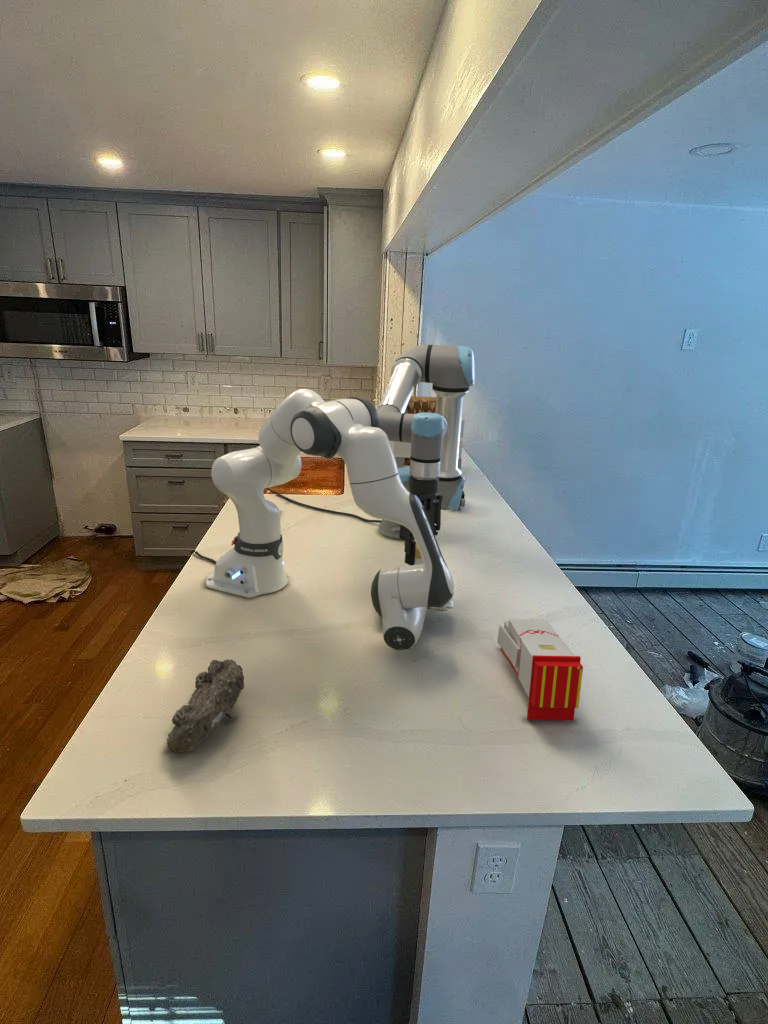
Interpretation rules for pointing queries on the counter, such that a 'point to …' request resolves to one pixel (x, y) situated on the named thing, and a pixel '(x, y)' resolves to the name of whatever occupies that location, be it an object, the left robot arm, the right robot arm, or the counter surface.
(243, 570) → the left robot arm
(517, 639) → the toy
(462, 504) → the figurine character
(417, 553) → the lid
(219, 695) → the fossil
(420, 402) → the white slatted box
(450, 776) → the counter surface
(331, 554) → the counter surface
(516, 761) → the counter surface
